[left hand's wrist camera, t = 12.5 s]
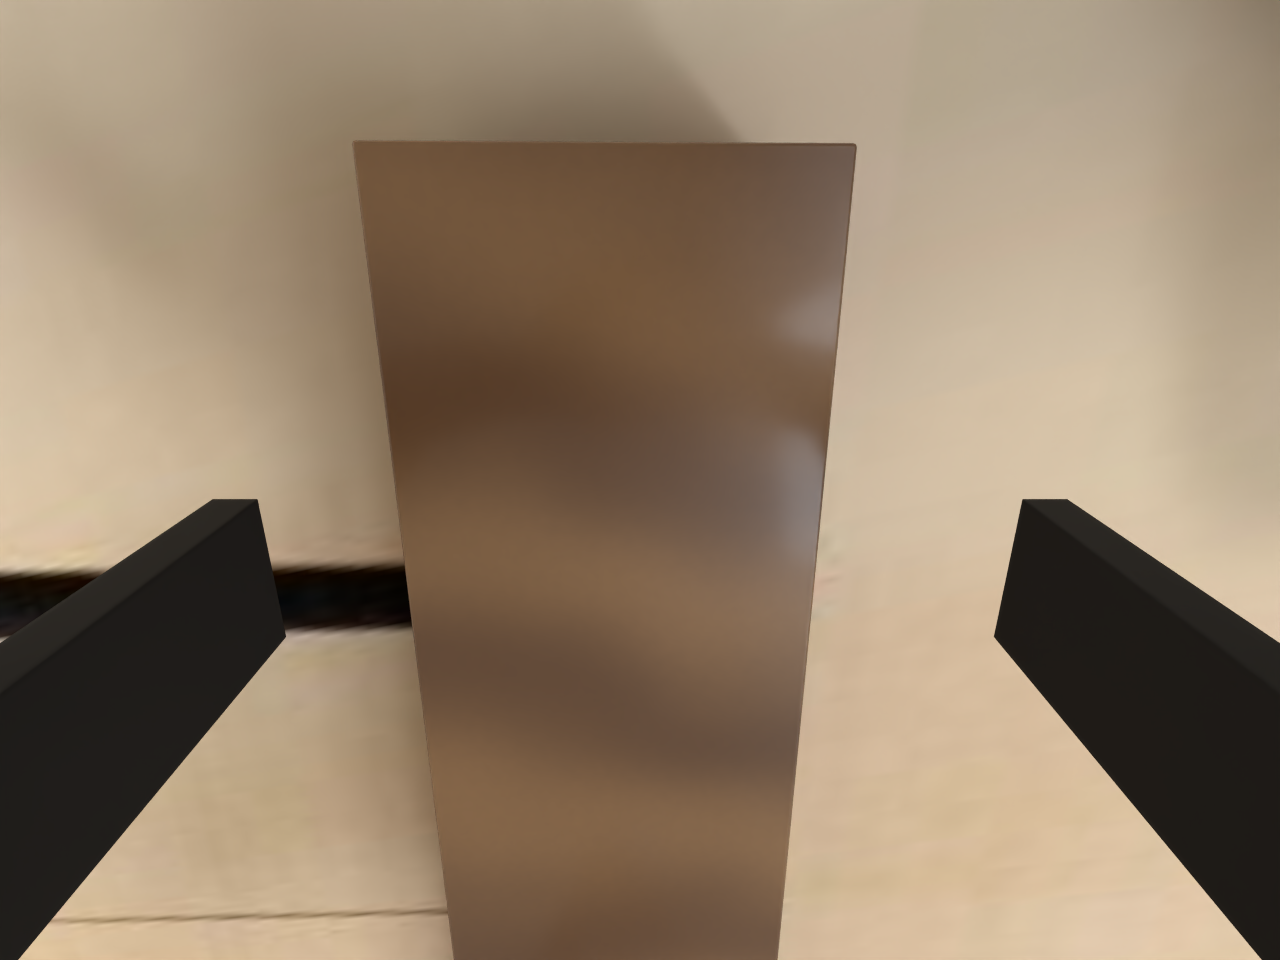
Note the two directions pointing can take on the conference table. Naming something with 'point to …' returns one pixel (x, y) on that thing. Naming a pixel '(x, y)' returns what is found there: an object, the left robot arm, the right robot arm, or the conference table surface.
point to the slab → (609, 521)
